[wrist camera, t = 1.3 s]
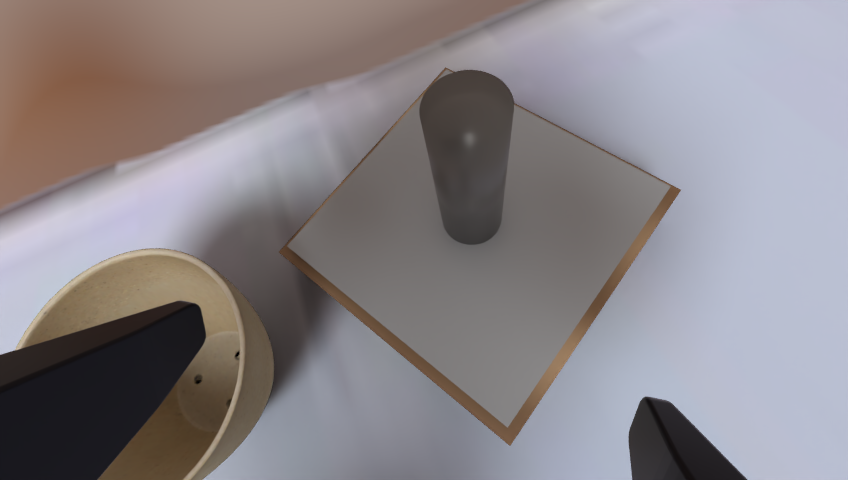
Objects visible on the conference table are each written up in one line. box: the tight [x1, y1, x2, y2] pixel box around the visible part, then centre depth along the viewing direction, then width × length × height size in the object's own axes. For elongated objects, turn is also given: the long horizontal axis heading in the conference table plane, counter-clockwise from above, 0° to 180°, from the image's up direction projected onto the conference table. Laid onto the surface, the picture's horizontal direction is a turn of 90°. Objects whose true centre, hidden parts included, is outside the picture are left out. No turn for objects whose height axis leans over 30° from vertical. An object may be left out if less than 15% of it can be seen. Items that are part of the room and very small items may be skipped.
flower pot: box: [15, 248, 274, 480], centre depth 19 cm, size 10×10×7 cm
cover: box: [287, 69, 671, 428], centre depth 16 cm, size 13×13×9 cm
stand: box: [279, 68, 681, 445], centre depth 22 cm, size 14×14×3 cm
